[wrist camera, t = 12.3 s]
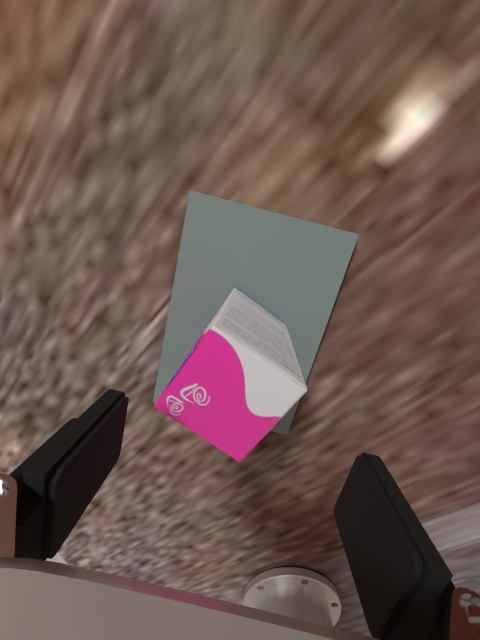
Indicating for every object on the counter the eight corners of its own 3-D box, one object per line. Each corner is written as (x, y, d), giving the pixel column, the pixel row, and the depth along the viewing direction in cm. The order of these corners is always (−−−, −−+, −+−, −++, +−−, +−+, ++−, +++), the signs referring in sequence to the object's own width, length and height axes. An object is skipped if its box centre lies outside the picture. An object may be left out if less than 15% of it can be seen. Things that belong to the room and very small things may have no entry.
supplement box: (233, 284, 23) (215, 321, 12) (287, 323, 24) (316, 393, 13) (196, 334, 24) (149, 409, 13) (248, 370, 25) (244, 469, 14)
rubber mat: (286, 429, 28) (287, 434, 27) (155, 398, 27) (152, 402, 26) (355, 234, 22) (359, 234, 21) (192, 192, 22) (189, 190, 21)
